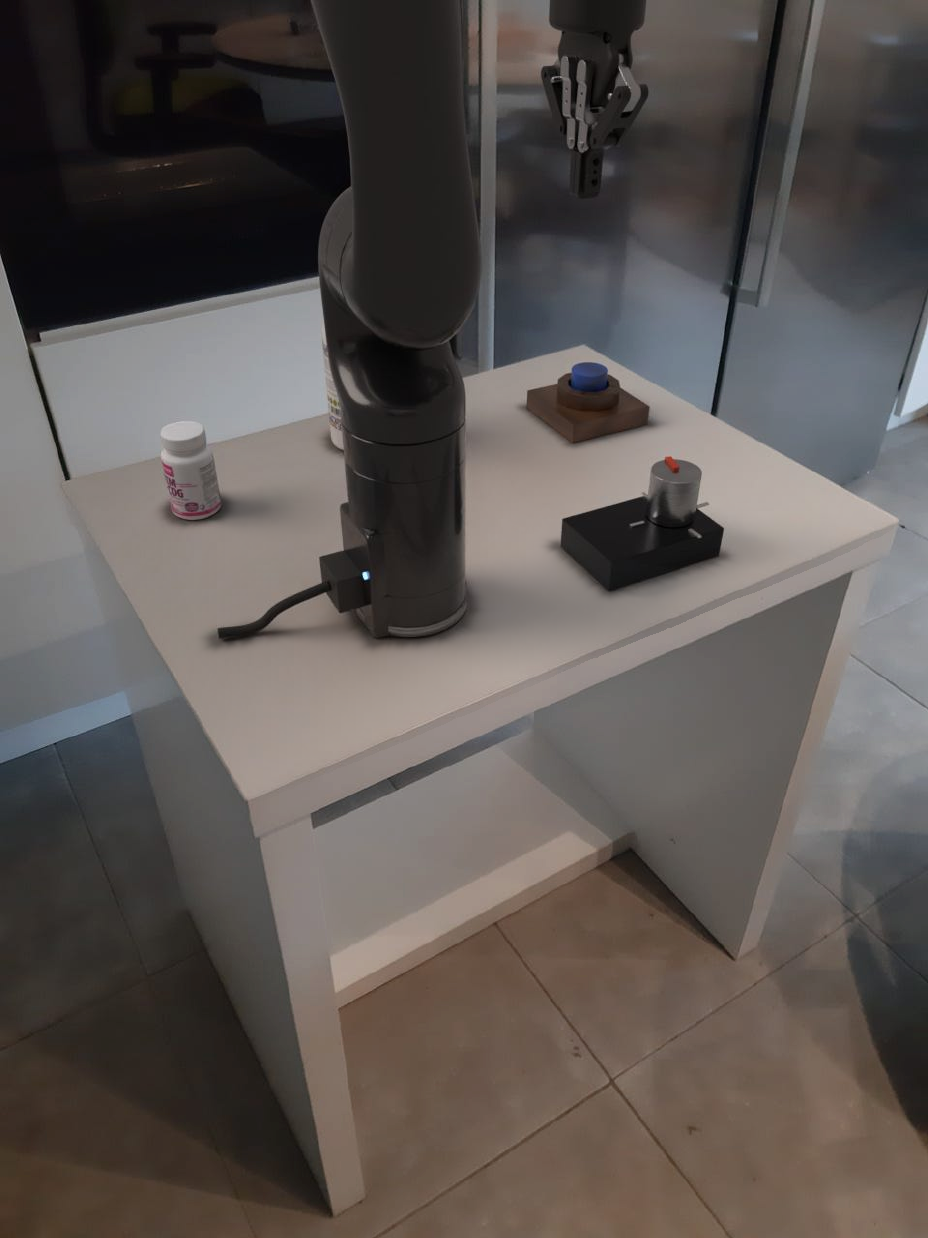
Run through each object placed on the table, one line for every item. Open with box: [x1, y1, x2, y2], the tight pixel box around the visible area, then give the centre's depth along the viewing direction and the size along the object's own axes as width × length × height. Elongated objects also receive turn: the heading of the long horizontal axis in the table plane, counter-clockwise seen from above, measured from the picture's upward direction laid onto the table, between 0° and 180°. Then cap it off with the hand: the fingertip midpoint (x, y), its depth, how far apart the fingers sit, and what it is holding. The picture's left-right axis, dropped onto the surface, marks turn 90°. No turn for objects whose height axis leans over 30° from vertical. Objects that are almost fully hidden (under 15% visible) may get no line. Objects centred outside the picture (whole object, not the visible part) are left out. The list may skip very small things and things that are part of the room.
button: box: [570, 361, 609, 392], centre depth 109 cm, size 4×4×2 cm
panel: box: [560, 491, 725, 592], centre depth 89 cm, size 13×9×3 cm, turn 117°
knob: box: [646, 455, 703, 527], centre depth 87 cm, size 4×4×5 cm
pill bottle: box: [159, 420, 222, 521], centre depth 93 cm, size 5×5×8 cm
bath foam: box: [321, 321, 344, 451], centre depth 101 cm, size 7×7×20 cm
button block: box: [526, 371, 651, 444], centre depth 111 cm, size 10×10×4 cm
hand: (584, 195), depth 85 cm, fingers closed
